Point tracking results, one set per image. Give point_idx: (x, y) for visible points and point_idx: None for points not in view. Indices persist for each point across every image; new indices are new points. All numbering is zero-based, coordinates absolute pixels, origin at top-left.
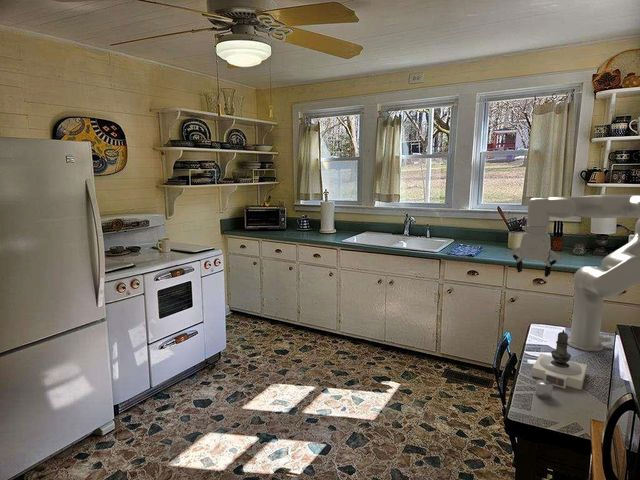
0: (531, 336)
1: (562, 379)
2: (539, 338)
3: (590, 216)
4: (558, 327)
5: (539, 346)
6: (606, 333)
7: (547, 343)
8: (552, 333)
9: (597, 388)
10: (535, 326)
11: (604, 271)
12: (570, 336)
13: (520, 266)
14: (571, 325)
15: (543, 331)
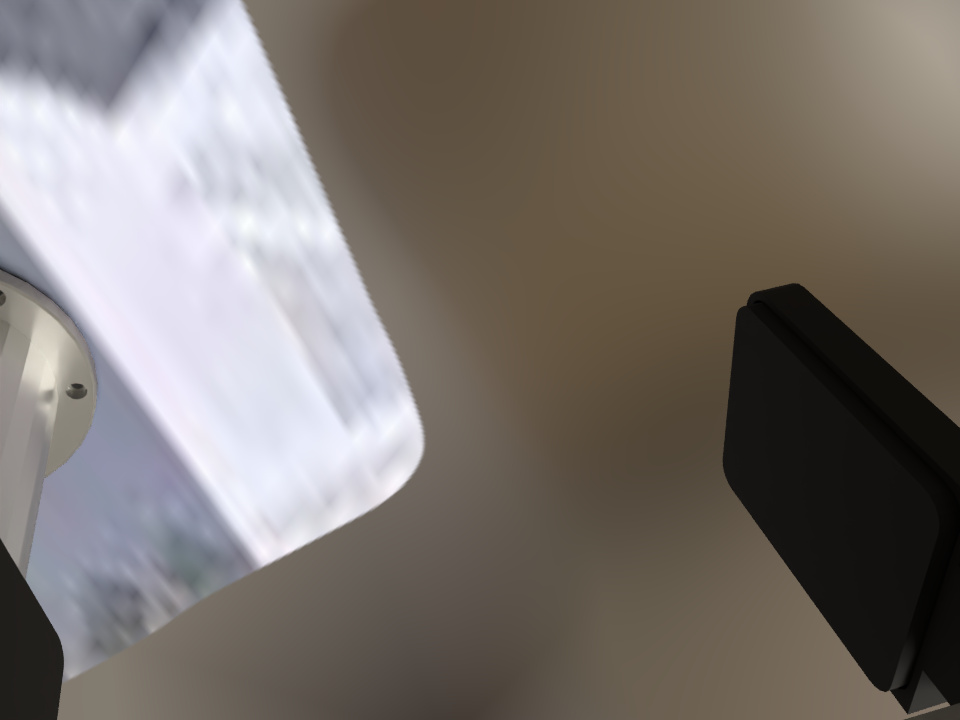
0: (320, 195)
1: None
2: (250, 210)
3: None
4: (293, 540)
5: (127, 5)
6: None
7: (135, 153)
8: (251, 403)
9: None
10: (413, 425)
11: None
12: (21, 359)
13: (840, 457)
14: (18, 438)
15: (318, 383)
